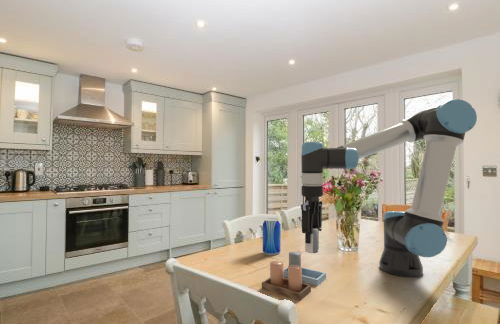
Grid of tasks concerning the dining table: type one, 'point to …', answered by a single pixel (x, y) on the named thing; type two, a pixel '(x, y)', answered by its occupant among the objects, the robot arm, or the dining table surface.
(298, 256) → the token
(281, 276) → the cylinder
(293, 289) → the cylinder
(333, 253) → the dining table surface
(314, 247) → the cylinder
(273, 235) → the beer can
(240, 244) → the dining table surface
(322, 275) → the trough
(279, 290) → the trough
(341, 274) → the dining table surface
